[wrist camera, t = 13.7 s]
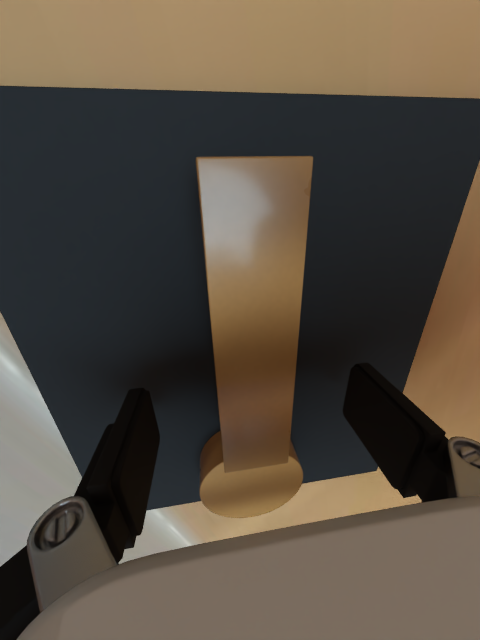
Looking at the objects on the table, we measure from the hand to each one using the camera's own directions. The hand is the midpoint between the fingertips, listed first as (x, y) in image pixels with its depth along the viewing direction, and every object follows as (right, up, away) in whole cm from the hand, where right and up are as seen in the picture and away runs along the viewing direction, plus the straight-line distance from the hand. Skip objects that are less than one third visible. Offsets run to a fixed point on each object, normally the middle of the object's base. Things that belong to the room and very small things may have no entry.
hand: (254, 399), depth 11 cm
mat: (0, +2, +2) cm, 3 cm away
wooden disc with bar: (0, +1, +2) cm, 2 cm away
